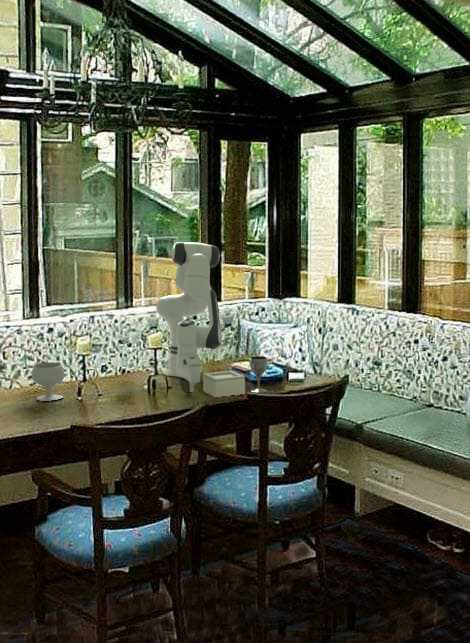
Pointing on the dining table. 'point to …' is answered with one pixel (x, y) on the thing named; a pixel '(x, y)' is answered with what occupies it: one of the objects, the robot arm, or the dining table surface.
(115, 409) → the dining table surface
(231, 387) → the open grey box
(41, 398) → the chalice
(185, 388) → the cup
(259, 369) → the wine glass
